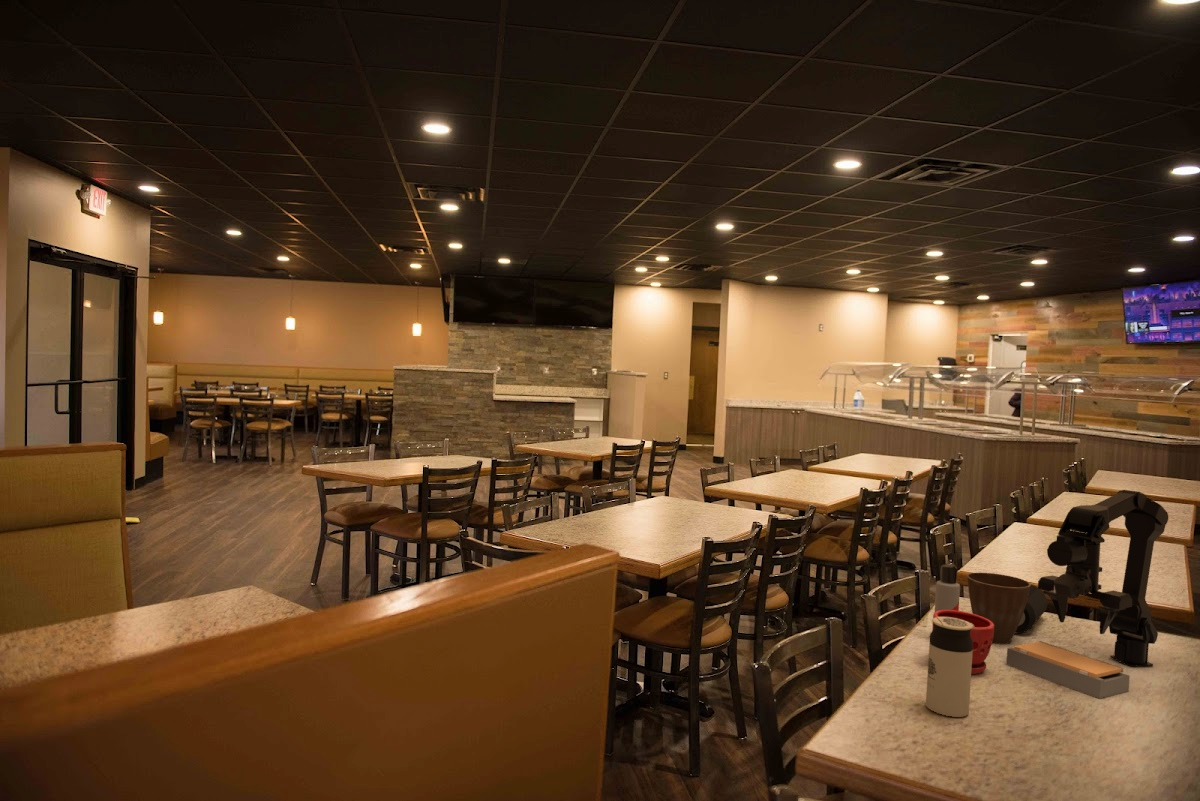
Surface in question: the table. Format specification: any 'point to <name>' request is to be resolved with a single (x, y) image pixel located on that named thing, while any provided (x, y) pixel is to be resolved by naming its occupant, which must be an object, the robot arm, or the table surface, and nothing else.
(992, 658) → the table surface
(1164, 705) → the table surface
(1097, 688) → the grey rectangular tray
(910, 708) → the table surface
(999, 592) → the plant pot
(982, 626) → the plant pot
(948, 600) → the lotion bottle
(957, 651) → the travel mug
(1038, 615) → the portable speaker
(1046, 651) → the cover
